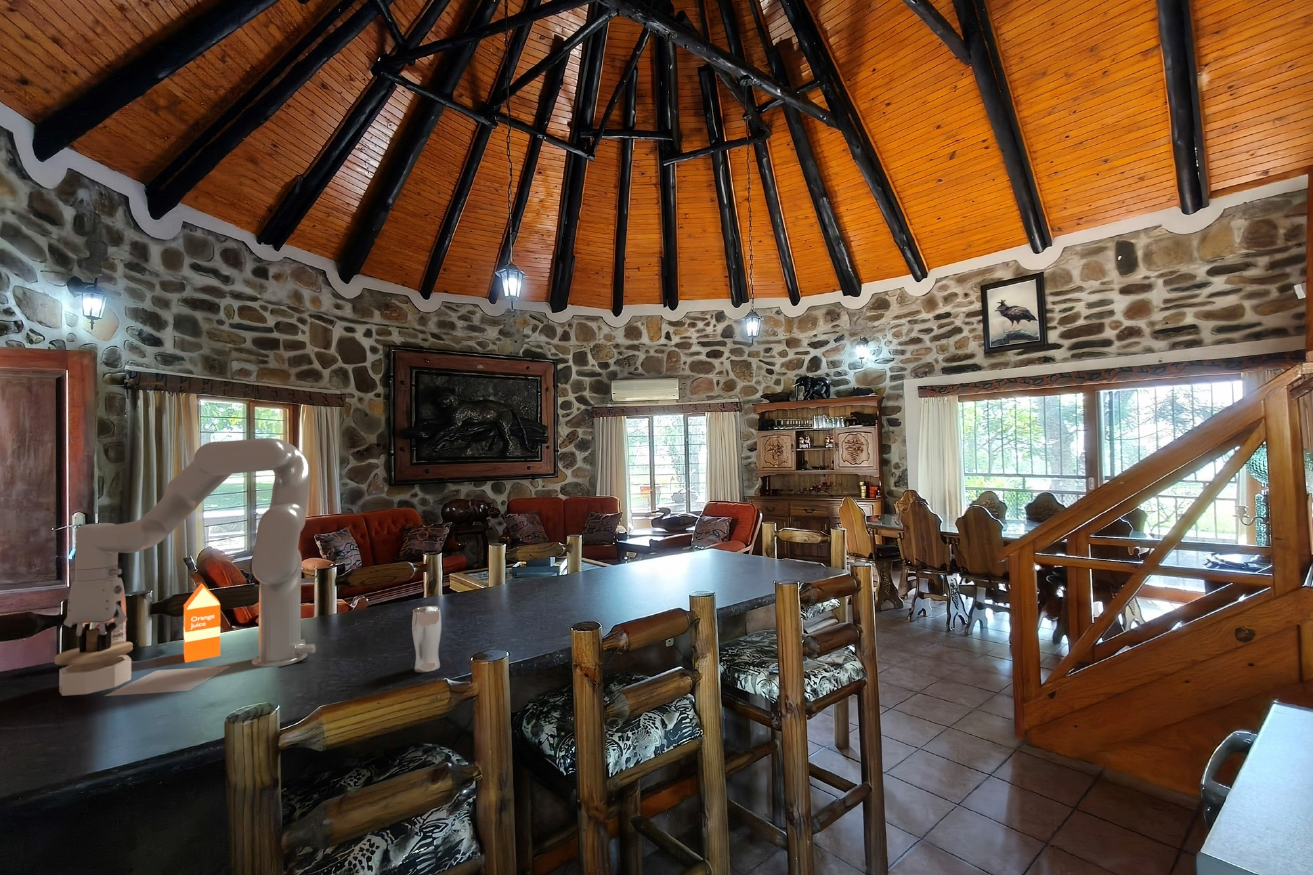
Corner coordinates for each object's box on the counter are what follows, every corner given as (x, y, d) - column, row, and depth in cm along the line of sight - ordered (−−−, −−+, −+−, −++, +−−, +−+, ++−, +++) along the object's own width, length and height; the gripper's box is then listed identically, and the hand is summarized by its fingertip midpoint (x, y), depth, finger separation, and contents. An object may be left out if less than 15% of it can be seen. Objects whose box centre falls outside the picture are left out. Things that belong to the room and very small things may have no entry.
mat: (231, 668, 151) (231, 665, 151) (188, 693, 135) (188, 690, 135) (156, 672, 149) (156, 670, 149) (104, 698, 133) (104, 695, 133)
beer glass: (447, 665, 149) (447, 607, 150) (426, 674, 143) (426, 614, 144) (427, 661, 152) (427, 604, 153) (406, 671, 146) (405, 611, 146)
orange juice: (184, 664, 154) (184, 589, 155) (183, 656, 161) (183, 584, 162) (221, 657, 160) (221, 584, 160) (218, 649, 166) (218, 580, 167)
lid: (146, 644, 148) (147, 620, 148) (102, 663, 134) (102, 636, 134) (88, 647, 146) (88, 623, 146) (37, 666, 133) (37, 639, 133)
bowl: (142, 676, 147) (142, 654, 147) (102, 695, 135) (102, 671, 135) (90, 679, 145) (90, 657, 146) (45, 698, 133) (45, 674, 134)
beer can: (106, 665, 155) (106, 605, 155) (88, 664, 156) (88, 605, 157) (131, 657, 161) (132, 600, 162) (114, 656, 162) (114, 599, 163)
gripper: (145, 570, 146) (144, 643, 145) (73, 572, 144) (71, 647, 143) (120, 576, 138) (119, 653, 137) (44, 578, 136) (43, 657, 136)
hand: (95, 649), depth 140 cm, fingers closed on lid, 3 cm apart
